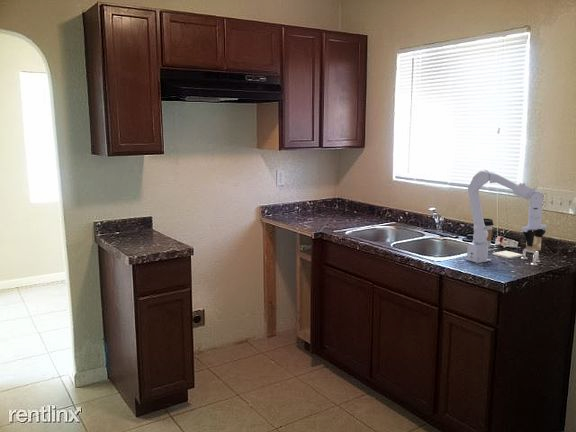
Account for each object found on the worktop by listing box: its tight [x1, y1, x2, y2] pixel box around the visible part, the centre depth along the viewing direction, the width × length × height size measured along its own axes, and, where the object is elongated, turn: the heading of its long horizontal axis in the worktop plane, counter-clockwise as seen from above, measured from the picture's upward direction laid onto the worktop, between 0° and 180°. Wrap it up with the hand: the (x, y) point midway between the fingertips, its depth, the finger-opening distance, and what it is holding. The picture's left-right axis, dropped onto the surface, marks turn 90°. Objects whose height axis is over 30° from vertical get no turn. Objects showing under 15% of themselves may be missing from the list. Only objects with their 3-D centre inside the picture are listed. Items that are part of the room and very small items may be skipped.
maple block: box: [525, 236, 542, 252], centre depth 239 cm, size 4×4×6 cm
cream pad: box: [492, 250, 523, 259], centre depth 260 cm, size 10×10×1 cm
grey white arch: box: [520, 248, 541, 266], centre depth 246 cm, size 9×13×5 cm
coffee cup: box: [483, 218, 494, 248], centre depth 279 cm, size 8×8×15 cm
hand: (533, 245), depth 239 cm, fingers closed on maple block, 4 cm apart
